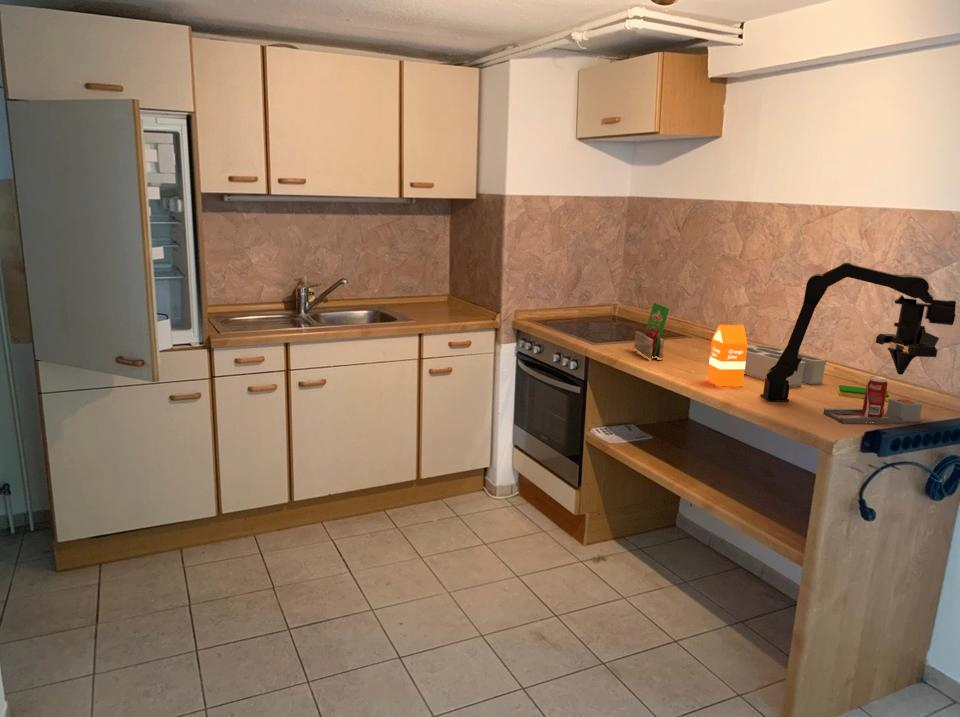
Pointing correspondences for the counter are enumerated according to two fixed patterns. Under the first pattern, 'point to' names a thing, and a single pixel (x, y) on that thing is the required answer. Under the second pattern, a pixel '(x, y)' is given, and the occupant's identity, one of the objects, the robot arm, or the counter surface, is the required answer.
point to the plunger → (905, 400)
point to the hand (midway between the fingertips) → (900, 374)
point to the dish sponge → (854, 392)
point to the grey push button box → (904, 410)
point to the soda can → (874, 397)
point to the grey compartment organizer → (767, 357)
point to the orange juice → (728, 356)
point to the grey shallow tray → (859, 419)
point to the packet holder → (647, 345)
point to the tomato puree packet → (656, 325)
